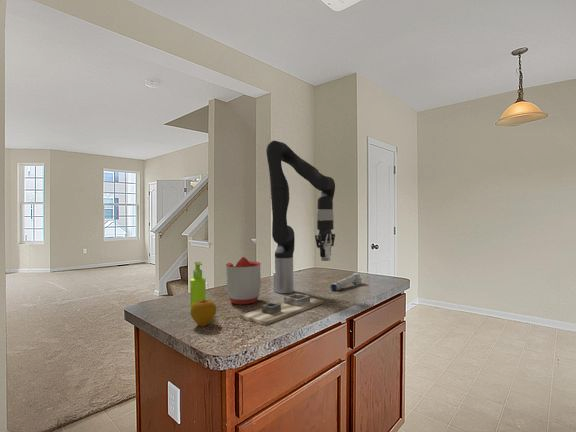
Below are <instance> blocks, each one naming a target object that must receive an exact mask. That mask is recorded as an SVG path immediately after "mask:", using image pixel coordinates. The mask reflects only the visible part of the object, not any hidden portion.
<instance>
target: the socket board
mask: <svg viewBox="0 0 576 432" xmlns="http://www.w3.org/2000/svg"><path fill="white" fill-rule="evenodd" d="M322 304H324V299H318V298H313V297H311V296H310V295H306V294H301V293H294V294H293V293H292V294H290V295H286V296H284V299H283V300H282V301H280V302H276V303H275V302H267V303H265V304H262V305H261V308H258V309H254V310H251V311H249V312H245V313H241V314H240V319H243V320H246V321H248V322H253V323H255V324H260V325H264V326H267V325H270V324H272V323H275V322H278V321H280V320H283V319H286V318H287V317H291V316H294V315H296V314H300V313H301V312H303V311H306V310H309V309H311V308H314V307H317V306H319V305H322Z"/></svg>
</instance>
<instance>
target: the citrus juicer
mask: <svg viewBox="0 0 576 432" xmlns="http://www.w3.org/2000/svg"><path fill="white" fill-rule="evenodd" d="M261 265H262V263H261V261H259V262H258V261H249V260H248V259H247V258H246V257H245V256H242V257H241V258H240V259H239V260H238V262H237V263H236V264H235V266H234V264H233V263H232V262H228V263H226V264H225V266H226V273H225V274H226V290H227V295H228V298H229V300H230V303H232V304H235V305H239V306H241V305H249V304H254V303H257V301H258V298H259V296H260V290H261V279H262V278H261Z"/></svg>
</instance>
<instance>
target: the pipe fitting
mask: <svg viewBox="0 0 576 432" xmlns="http://www.w3.org/2000/svg"><path fill="white" fill-rule="evenodd" d="M331 244H332V243H331ZM331 244H330V243H326V244H325V257H320V259H321V261H322V262H325V261H327V262H329V261H331V256H330V245H331Z"/></svg>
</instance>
